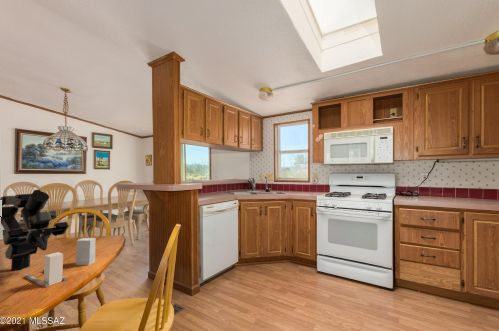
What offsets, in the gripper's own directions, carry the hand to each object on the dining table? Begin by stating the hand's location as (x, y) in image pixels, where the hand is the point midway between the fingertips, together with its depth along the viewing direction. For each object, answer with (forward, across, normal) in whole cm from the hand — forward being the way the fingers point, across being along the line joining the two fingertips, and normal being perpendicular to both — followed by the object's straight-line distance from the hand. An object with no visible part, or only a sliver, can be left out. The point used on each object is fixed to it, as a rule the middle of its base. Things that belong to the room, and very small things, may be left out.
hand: (44, 249), depth 90 cm
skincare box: (+7, +16, +10) cm, 20 cm away
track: (+9, 0, +8) cm, 12 cm away
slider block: (+13, 0, +3) cm, 13 cm away
